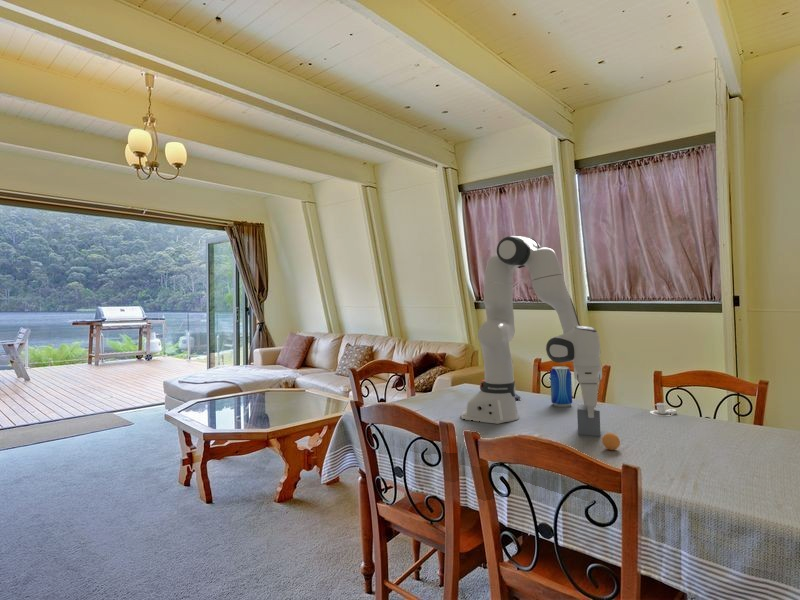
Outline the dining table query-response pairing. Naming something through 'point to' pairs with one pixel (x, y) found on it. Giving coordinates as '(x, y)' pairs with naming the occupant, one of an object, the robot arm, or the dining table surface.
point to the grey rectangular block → (588, 421)
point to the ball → (611, 441)
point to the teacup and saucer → (663, 410)
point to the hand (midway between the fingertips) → (590, 413)
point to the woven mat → (517, 397)
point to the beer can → (561, 386)
